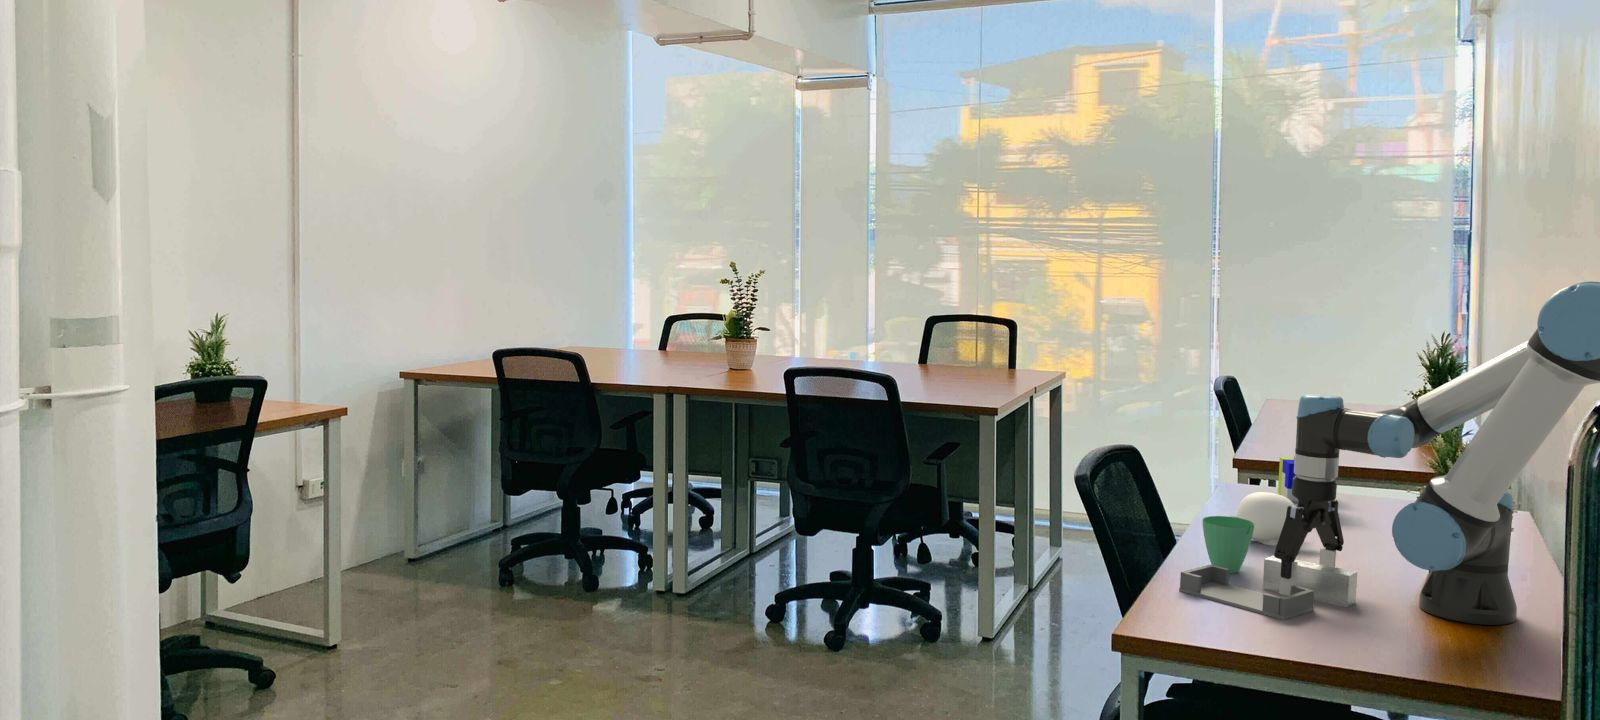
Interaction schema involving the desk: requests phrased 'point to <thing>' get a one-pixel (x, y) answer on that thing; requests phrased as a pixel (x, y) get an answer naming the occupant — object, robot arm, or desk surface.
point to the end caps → (1244, 593)
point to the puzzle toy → (1286, 478)
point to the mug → (1227, 540)
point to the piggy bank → (1265, 515)
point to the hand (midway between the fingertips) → (1306, 589)
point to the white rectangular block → (1315, 581)
